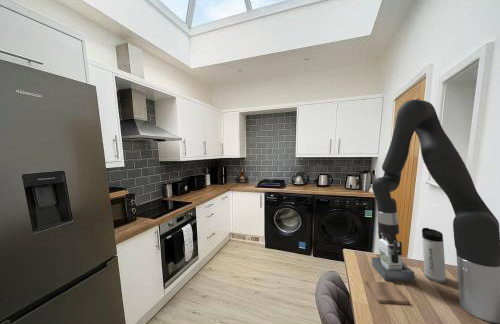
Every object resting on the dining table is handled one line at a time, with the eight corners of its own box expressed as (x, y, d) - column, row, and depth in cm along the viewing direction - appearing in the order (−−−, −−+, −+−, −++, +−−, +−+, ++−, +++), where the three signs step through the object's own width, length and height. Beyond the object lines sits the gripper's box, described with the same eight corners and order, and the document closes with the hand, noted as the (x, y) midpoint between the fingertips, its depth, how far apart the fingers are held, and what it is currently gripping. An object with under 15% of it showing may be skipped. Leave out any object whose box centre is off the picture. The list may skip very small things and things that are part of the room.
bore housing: (398, 266, 85) (397, 257, 85) (414, 282, 74) (414, 272, 74) (372, 265, 87) (371, 257, 87) (385, 280, 76) (384, 271, 76)
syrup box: (403, 276, 77) (401, 243, 77) (389, 277, 78) (387, 244, 78) (393, 269, 83) (391, 237, 83) (380, 269, 83) (378, 238, 83)
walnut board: (392, 284, 73) (392, 282, 73) (409, 304, 63) (409, 301, 63) (365, 283, 75) (365, 281, 75) (378, 302, 65) (378, 299, 65)
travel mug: (435, 272, 79) (432, 227, 79) (450, 282, 72) (447, 233, 72) (420, 272, 79) (417, 227, 79) (433, 282, 73) (430, 233, 73)
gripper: (408, 227, 73) (411, 268, 73) (387, 216, 87) (390, 250, 87) (387, 227, 74) (390, 267, 74) (370, 216, 88) (373, 250, 88)
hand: (390, 258), depth 80 cm, fingers closed on syrup box, 6 cm apart
